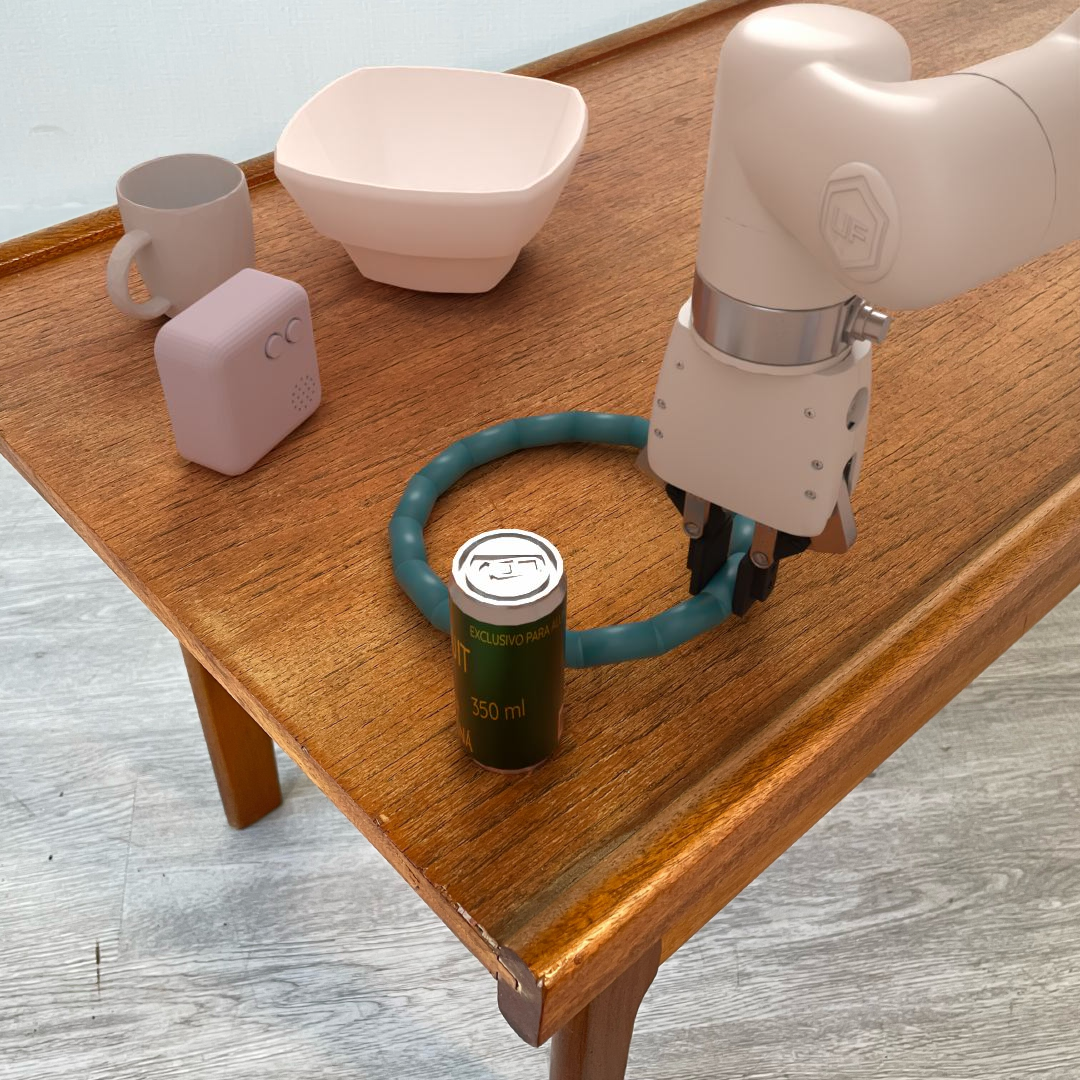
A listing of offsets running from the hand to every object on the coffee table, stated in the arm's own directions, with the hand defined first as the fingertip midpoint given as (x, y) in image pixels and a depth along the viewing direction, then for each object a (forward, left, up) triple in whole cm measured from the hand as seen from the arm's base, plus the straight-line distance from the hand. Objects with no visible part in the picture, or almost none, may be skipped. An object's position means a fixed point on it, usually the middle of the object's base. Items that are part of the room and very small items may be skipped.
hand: (727, 589), depth 67 cm
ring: (+10, 0, 0) cm, 10 cm away
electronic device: (+33, +3, -2) cm, 33 cm away
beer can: (+5, +14, -2) cm, 15 cm away
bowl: (+37, -22, -2) cm, 43 cm away
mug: (+48, -5, -2) cm, 48 cm away
